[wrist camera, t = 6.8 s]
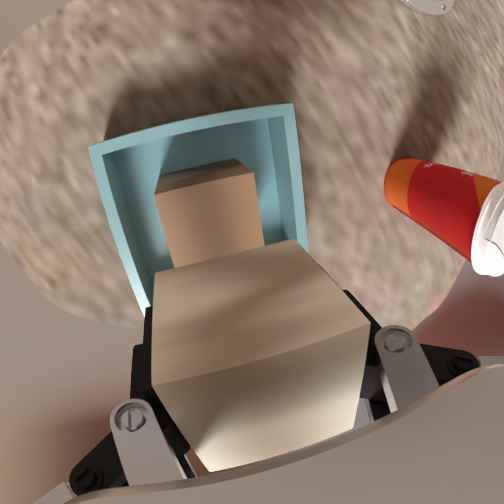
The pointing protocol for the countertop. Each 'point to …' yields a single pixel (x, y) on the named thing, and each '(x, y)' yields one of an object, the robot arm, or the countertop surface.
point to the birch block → (256, 353)
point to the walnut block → (209, 211)
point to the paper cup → (452, 208)
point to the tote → (191, 155)
